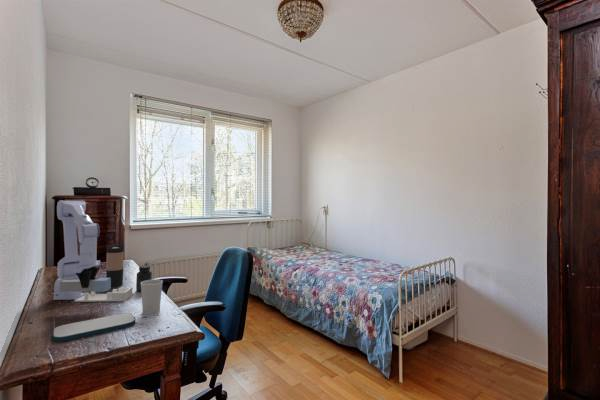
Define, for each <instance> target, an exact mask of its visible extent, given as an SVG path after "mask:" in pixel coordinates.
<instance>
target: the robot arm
mask: <svg viewBox="0 0 600 400" xmlns="http://www.w3.org/2000/svg"><path fill="white" fill-rule="evenodd" d="M86 210H87V204H86V201H85V200H83V199H82V200H62V199H60V200H58V201H57V205H56V216H57V219H58V220H60V221H61V222H62V225H63V226H62V228H63V242H64V243H63V244H64V245H63V246H64V257H62V258H61V259H60V260H59V261H58V262H57V268H56V274H57V277H58V278H57V279H56V280H55V282H54V284H53V292H54V293H53V298H52V300H53V301H58V300H59V301H60V300H62V301H64V300H68V301H70V300H71V301H72V300H76V299H78V298H80V297H82V296H84V293H85V292H60V282H61V281H63V280H80V283H81V286H82V288H88V286H89V280H96V277H97V275H98V272H99V271H100V268H101V267H100V265H101V260H100V259H99V260H97V256H98V255H97V254H98V253H97V251H98V250H97V248H98V238H99V236H100V225H99V224H98V222H97V223H94V222H93V220H92V219H91V217H90V215H88V214H86V213H85V212H86ZM78 243H79V250H78ZM78 251H79V252H78Z"/></svg>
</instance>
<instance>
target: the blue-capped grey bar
mask: <svg viewBox="0 0 600 400" xmlns="http://www.w3.org/2000/svg"><path fill="white" fill-rule="evenodd" d="M110 289H112V288H111V278H106V277H99V278H95V280H89V286H88V288H82V286H81V283H80V280H63V281H61V282H60V292H81V293H83V292H91V291H93V292H96V293H102V292H103V293H104V292H105V293H106V292H107V291H109V290H110Z"/></svg>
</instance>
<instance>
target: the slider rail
mask: <svg viewBox="0 0 600 400" xmlns="http://www.w3.org/2000/svg"><path fill="white" fill-rule="evenodd" d="M83 293H84V295H83V296H81V297H79V298H77V299H75V300H74V301H73V302H74V303H80V302H81V303H87V302H89V303H90V302H91V303H93V302H94V303H96V302H125V301H127V300H128V299H129V298H130V297H132V296H133V295H134V293H133V287H118V288H113V289H112V292H110V291H108V292H106V293H97V292H93V291H90V292H83Z"/></svg>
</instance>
